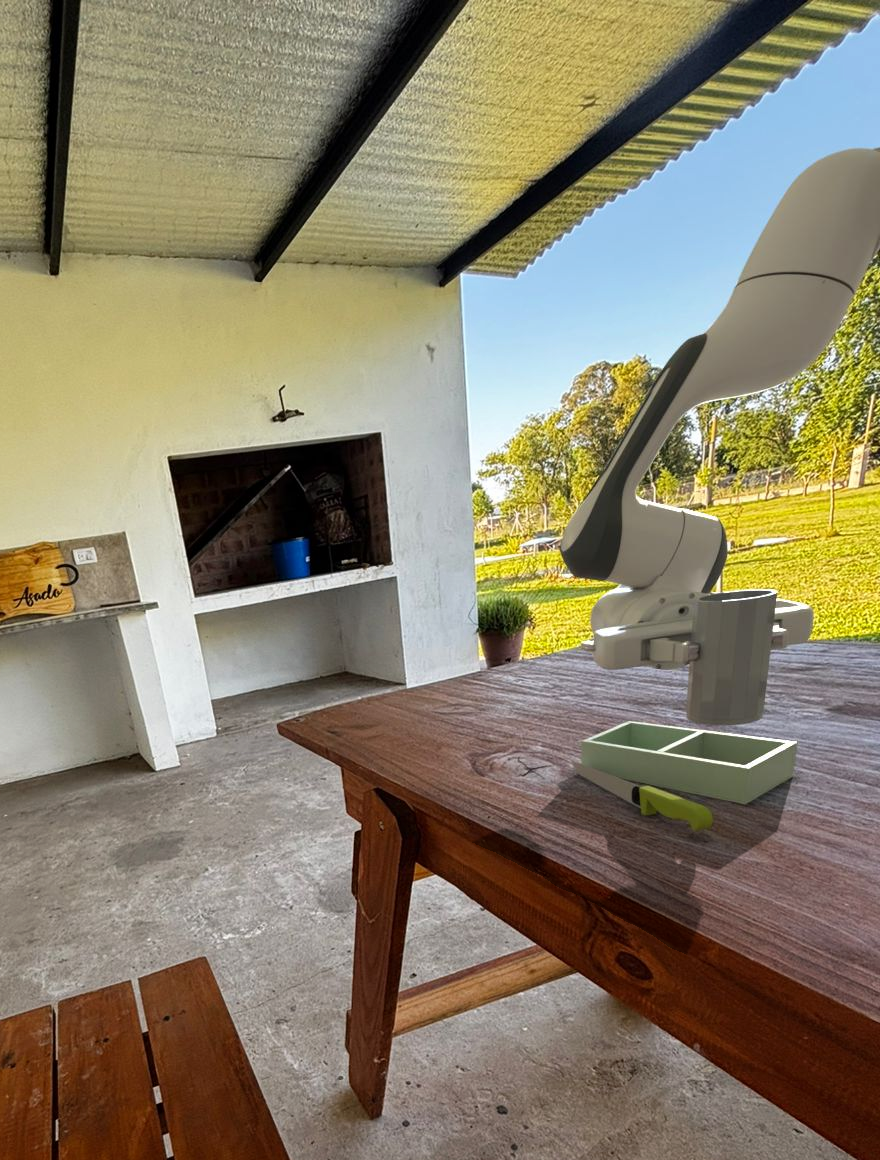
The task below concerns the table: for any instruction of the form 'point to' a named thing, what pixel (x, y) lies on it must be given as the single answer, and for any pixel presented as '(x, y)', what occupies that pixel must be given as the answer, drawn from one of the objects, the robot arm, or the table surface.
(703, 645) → the cutlery cup
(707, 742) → the divided tray
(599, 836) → the table surface
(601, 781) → the kitchen knife
